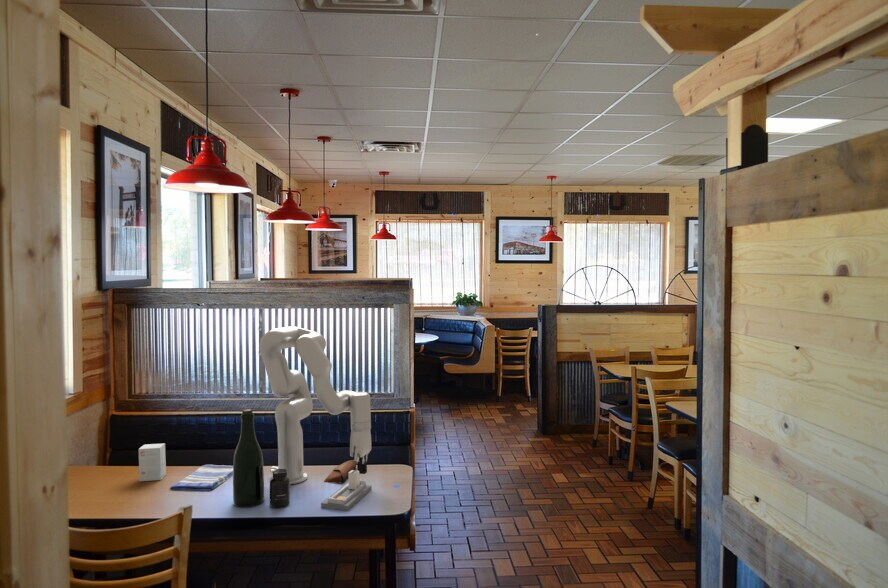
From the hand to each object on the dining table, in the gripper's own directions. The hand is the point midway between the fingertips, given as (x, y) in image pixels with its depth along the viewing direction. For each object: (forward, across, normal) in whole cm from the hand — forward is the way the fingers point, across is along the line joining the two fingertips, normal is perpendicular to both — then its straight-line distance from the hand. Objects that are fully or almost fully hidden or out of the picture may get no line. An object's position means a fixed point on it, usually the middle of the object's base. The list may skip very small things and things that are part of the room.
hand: (362, 473), depth 212 cm
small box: (+4, +14, -85) cm, 86 cm away
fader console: (+5, +12, -1) cm, 13 cm away
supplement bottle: (+5, +24, -21) cm, 32 cm away
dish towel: (+5, +10, -63) cm, 64 cm away
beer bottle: (+5, +25, -33) cm, 41 cm away
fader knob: (+3, +6, -1) cm, 7 cm away
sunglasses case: (+6, -9, -14) cm, 18 cm away
